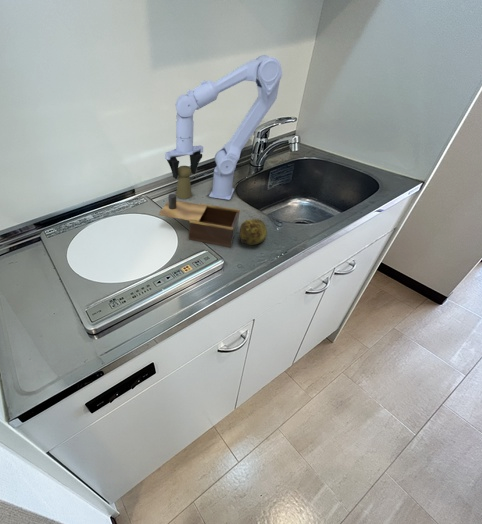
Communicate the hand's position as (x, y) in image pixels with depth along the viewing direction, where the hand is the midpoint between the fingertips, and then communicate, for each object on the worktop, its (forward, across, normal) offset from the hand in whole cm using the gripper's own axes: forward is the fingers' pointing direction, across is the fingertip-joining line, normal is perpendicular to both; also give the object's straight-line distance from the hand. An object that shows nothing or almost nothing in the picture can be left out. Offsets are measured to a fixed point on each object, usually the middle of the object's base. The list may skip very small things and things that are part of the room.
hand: (184, 175), depth 102 cm
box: (+8, -6, -27) cm, 29 cm away
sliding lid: (+2, -13, -19) cm, 23 cm away
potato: (+8, +1, -36) cm, 37 cm away
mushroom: (+8, 0, 0) cm, 8 cm away
